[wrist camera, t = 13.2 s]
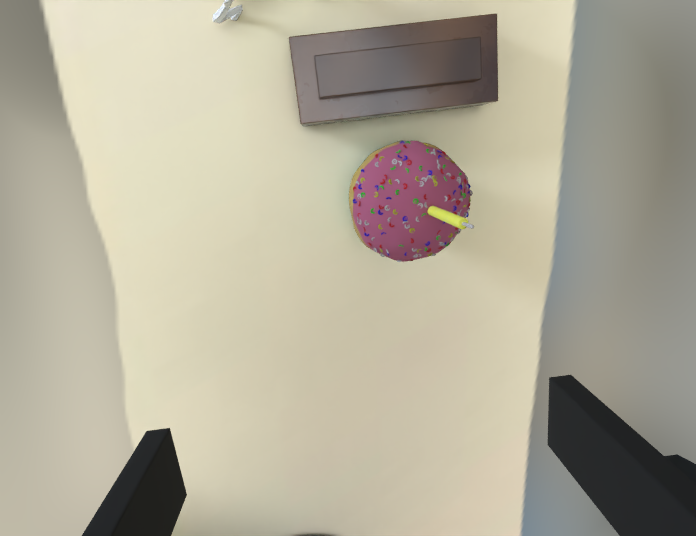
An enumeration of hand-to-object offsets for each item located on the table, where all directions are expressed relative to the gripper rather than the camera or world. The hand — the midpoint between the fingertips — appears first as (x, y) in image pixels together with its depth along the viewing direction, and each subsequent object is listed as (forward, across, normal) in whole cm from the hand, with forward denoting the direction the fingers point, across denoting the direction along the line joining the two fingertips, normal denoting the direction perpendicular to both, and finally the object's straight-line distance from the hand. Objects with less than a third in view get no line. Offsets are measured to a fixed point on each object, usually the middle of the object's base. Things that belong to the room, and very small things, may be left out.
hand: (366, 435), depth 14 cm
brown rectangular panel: (+22, -6, -14) cm, 27 cm away
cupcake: (+22, -6, -6) cm, 23 cm away
